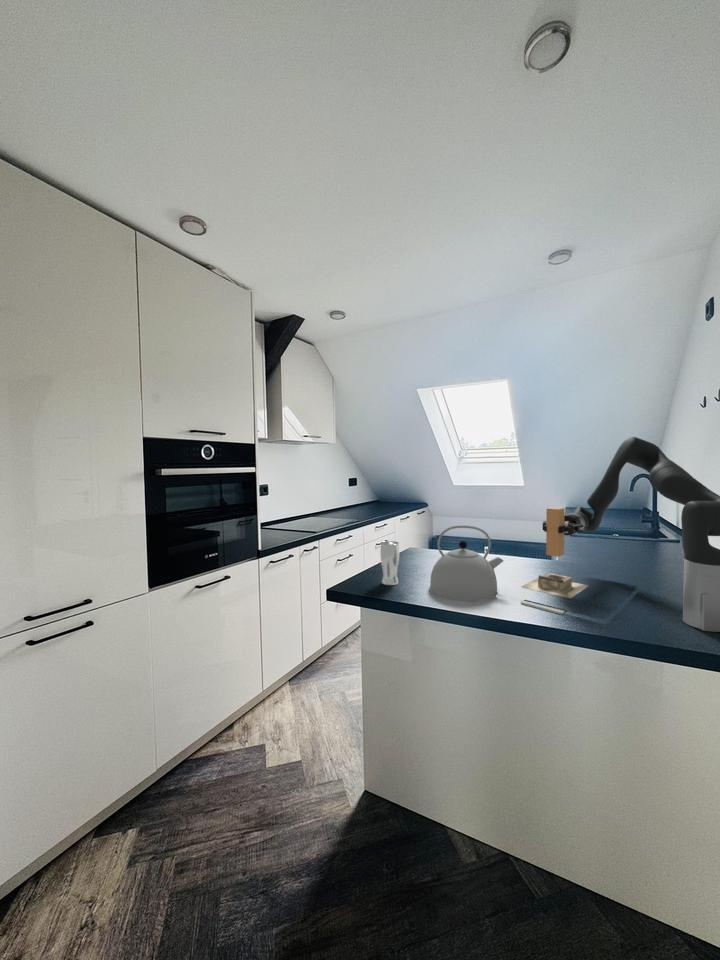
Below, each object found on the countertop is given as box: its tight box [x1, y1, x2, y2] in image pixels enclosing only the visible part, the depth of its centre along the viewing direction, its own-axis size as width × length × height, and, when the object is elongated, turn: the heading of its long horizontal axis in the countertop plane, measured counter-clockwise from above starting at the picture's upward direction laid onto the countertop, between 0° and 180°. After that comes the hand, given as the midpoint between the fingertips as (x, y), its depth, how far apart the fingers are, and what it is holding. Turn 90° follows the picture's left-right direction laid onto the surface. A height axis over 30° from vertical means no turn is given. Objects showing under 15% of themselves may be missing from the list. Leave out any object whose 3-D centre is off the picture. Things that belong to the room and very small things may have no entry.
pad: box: [520, 599, 568, 616], centre depth 119 cm, size 12×12×1 cm
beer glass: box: [379, 540, 400, 586], centre depth 142 cm, size 7×7×15 cm
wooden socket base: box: [520, 572, 590, 599], centre depth 133 cm, size 16×18×5 cm
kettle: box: [429, 525, 505, 602], centre depth 133 cm, size 25×23×23 cm
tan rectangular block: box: [545, 507, 565, 558], centre depth 132 cm, size 4×5×16 cm
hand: (552, 529), depth 130 cm, fingers closed on tan rectangular block, 4 cm apart
